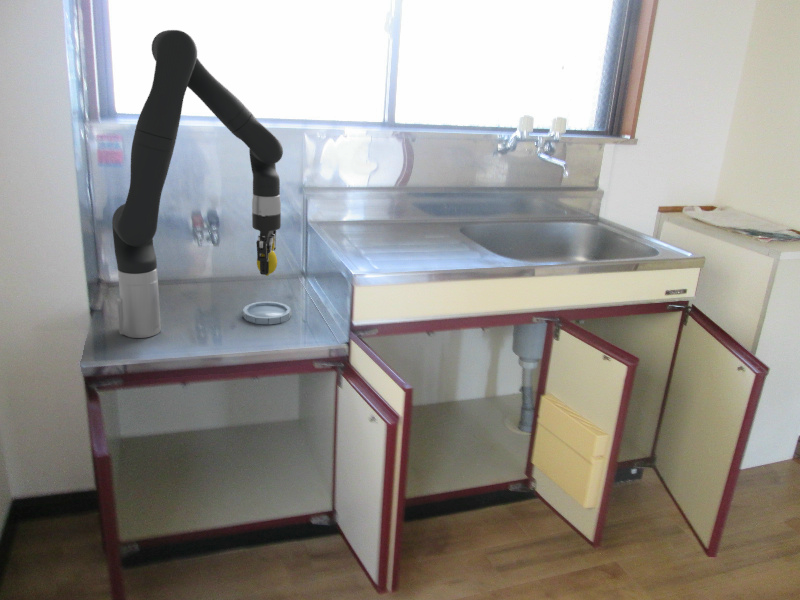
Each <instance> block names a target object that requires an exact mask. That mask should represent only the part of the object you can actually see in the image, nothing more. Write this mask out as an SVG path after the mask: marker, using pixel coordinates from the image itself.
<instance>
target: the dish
mask: <svg viewBox="0 0 800 600" xmlns="http://www.w3.org/2000/svg"><path fill="white" fill-rule="evenodd" d="M291 316H292V308H291V307H289V305H288V304H285V303H282V302H279V301H278V302H277V301H257V302H253V303H250V304H247V305H245V306H244V308H243V309H242V317H243V319H244V320H245V321H247V322H249V323H252V324H256V325H275V324H276V325H277V324H282V323H284V322H286V321H288V320H290V318H291Z"/></svg>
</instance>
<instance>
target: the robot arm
mask: <svg viewBox="0 0 800 600" xmlns="http://www.w3.org/2000/svg"><path fill="white" fill-rule="evenodd" d="M196 45H197V44H196V42H195V41H194V40H193V38H192V36H190V35H189V34H188V33H186V32H185V31H182V30H179V29H168V30H163V31H161V32H159V33H157V34H156V35H155V36H154V38H153V40H152V44H151V54H152V56H153V59H154V60H155V66H154V67H155V68H154V74H153V80H152V85H151V89H150V91H149V94H148V96H147V98H146V100H145V103H144V105H143V106H142V109H141V111H140V113H139V116H138V120H137V122H136V125H135V128H134V129H135V130H134V134H133V139H132V143H131V151H130V180H129V181H130V183H129V188H128V193H127V196H126V199H125V203H124V204H121V205H120V206H118V207H117V208H116V210H115V211H114V213H113V215H112V218H111V219H112V221H111V223H112V227H111V229H112V235H113V246H114V254H115V260H116V265H117V277H118V289H119V297H118V298H117V299H116V303H117V304H116V305H117V307H116V308H117V315H118V317H117V318H118V329H119V335H123V336H126V337H128V338H135V339H142V338H143V339H144V338H149V337H150V338H151V337H154V336H155V335H157V334H159V333H161V328H162V326H161V323H162V322H161V313H160V312H161V310H160V295H159V281H158V264H157V262H158V261H157V256H156V253H155V248H154V239H153V238H154V237H155V235H156V232H157V229H158V220H159V212H160V206H161V205H160V203H161V198H162V194H163V193H162V192H163V189H164V185H165V182H166V179H167V175H168V173H169V169H170V164H171V161H172V158H173V154H174V150H175V146H176V142H177V137H178V133H179V127H180V122H181V115H182V109H183V103H184V97H185V95H186V92H187V89H190V91H192V92H193V93H194V94H195V95H196V96H197V97H198V99H200V100H201V102H203V104H204V105H205V106H206V107H207V108H208V109H209V110H210V111H211V112H212V113H213V114H214V116H215V117H216V118H217V119H218V120H219V121H220V122H221V123H222V124H223V125H224V126H225V128H227V129H228V130H229V131H230V133H231V134H232V135H234V136H235V137H236V138H237V139H238V140H241V141H242V142H243V143H244V144H245V145H246V146H247V147H248V148H249V151H248V152H249V161H250V167H251V172H252V200H251V210H252V212H251V213H252V214H251V219H252V221H251V223H252V225H251V226H252V228H253V229H254V230H257V231H258V232H259V235H258V236H257V240H256V261H257V260H258V261H260V271H259V273H260V275H263V276H266V275H268V273H269V254H270V253H271V250H272V251H273V252H274V253H275V251H276V246H277V245H276V243H277V240H276V239H277V231H278V230H280V229H281V227H282V224H281V223H282V222H281V221H282V220H281V219H282V218H281V216H282V215H281V214H282V212H281V211H282V209H281V208H282V207H281V206H282V204H281V203H282V202H281V195H280V194H281V193H280V192H281V191H280V190H281V189H280V188H281V187H280V186H281V184H280V183H281V182H280V181H281V180H280V176H279V174H278V172H277V167H276V164H277V163H278V162H280V161H281V160H282V157H283V153H284V150H283V145H282V143H281V141H280V140H279V139H278V138H277V137H276V136H275V135H274V134H273V133H272V132H271V131H269V129H267V128H266V127H265V126H264V125H263V124H262V123H261V122H259V120H257V118H256V117H255V116H254V114H253V113H252V112H251V111H250V109H248V108H247V107H246V105H245V104H244V103H243V102H242V101H241V100H240V99H239V98H238V97H237V96H236V95H235V94H233V93H232V92H231V91H230V90H229V89H228V88H227V87H226V86H224V85H223V84H222V83H221V82H220V81H219V80H218V79H216V78H215V76H213V74H211V72H209V70H208V69H207V68H206V67H205V66H204V65H203V64H202V62H201V61H200V60H199V58H198V48H197V46H196ZM267 249H268V250H267ZM262 254H264V255H265V257H262ZM268 276H269V275H268Z"/></svg>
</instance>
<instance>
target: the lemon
mask: <svg viewBox="0 0 800 600" xmlns="http://www.w3.org/2000/svg"><path fill="white" fill-rule="evenodd" d="M267 250H268V249H267ZM262 257H265V255H264V254H262ZM256 266H257V269H258V271H259V272H260V261H258V260H257V259H256ZM277 266H278V258H277V255H276V253H275V251H274V252H273V251H272V250H271V253H270V254H269V273H268V275H265V276H266V277H267V276H268V277H269V275H271V274H273V273H274V272H275V271H276V269H277Z"/></svg>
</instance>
